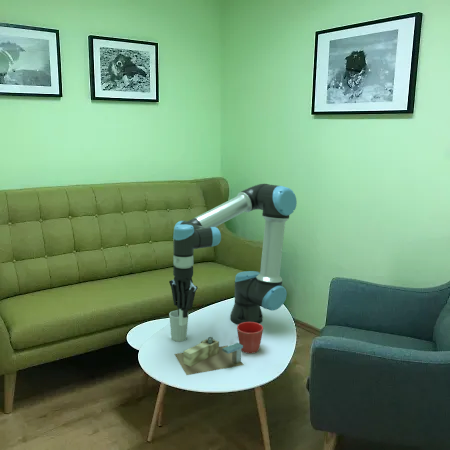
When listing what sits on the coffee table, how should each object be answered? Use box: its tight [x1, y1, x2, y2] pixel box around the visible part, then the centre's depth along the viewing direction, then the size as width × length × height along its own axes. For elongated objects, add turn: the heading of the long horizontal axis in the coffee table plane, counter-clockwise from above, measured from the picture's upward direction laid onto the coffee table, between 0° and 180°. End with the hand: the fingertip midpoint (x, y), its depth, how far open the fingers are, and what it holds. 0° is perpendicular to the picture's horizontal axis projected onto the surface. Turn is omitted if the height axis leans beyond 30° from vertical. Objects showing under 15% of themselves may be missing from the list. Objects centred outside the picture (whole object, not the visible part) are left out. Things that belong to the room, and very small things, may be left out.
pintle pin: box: [207, 336, 214, 344], centre depth 184 cm, size 2×2×6 cm
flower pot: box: [236, 322, 264, 354], centre depth 190 cm, size 11×11×10 cm
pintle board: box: [174, 345, 245, 376], centre depth 180 cm, size 22×17×1 cm
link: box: [183, 338, 220, 366], centre depth 180 cm, size 15×5×5 cm, turn 139°
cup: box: [168, 309, 189, 343], centre depth 196 cm, size 8×8×12 cm
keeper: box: [222, 342, 243, 364], centre depth 176 cm, size 3×8×7 cm, turn 131°
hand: (182, 324), depth 181 cm, fingers closed
